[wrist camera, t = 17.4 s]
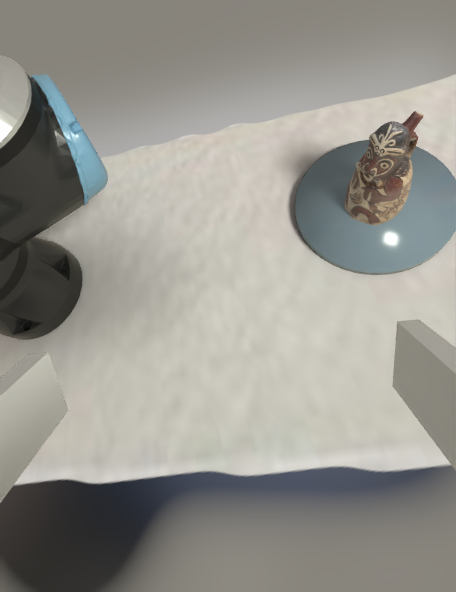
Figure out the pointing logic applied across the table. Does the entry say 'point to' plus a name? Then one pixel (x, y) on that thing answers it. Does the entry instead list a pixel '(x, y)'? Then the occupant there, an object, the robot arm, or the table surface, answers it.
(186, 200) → the table surface
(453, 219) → the plate
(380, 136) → the figurine
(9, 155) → the robot arm
